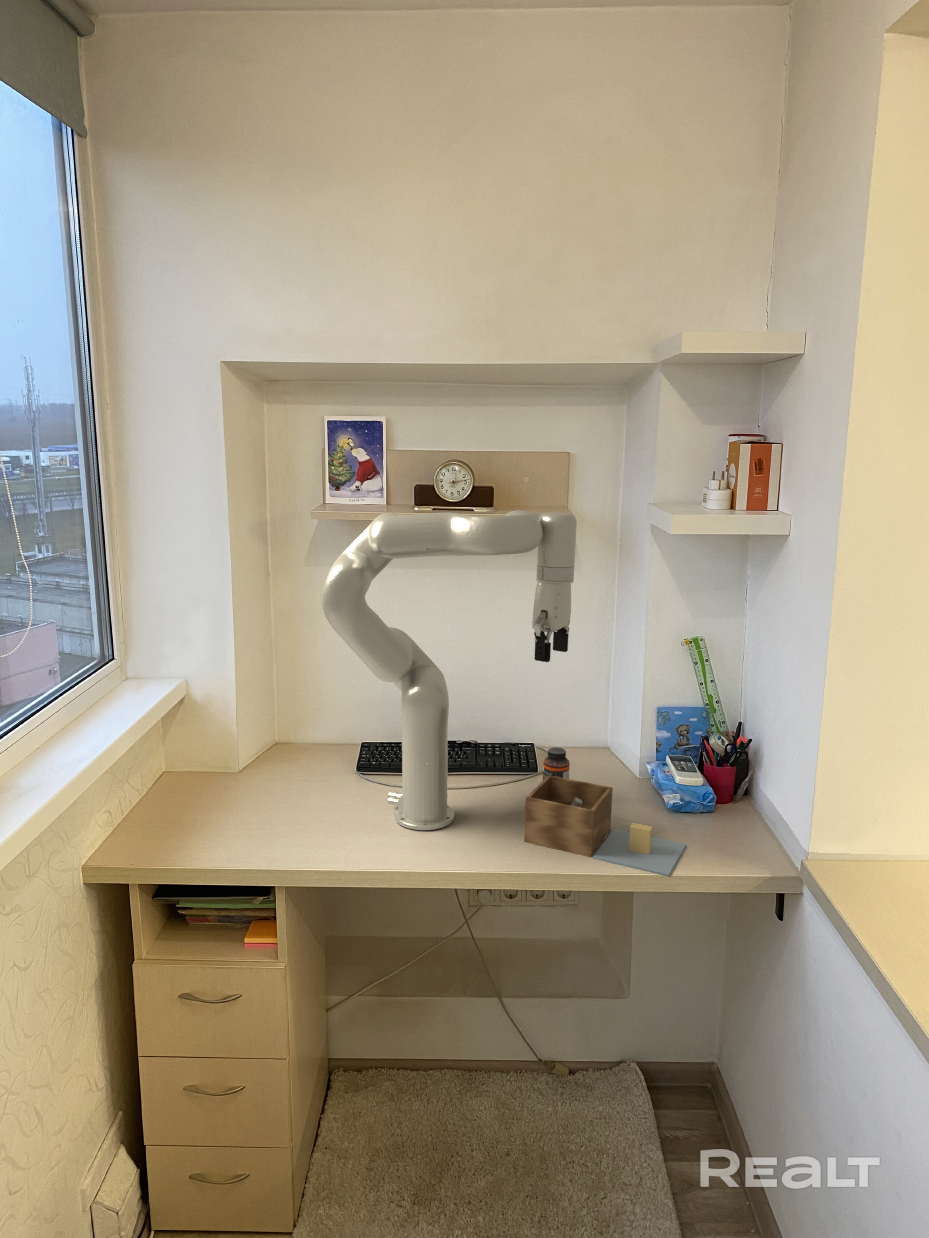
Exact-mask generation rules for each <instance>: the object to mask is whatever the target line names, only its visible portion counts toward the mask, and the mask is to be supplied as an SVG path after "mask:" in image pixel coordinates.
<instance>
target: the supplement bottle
mask: <svg viewBox="0 0 929 1238" xmlns="http://www.w3.org/2000/svg"><path fill="white" fill-rule="evenodd" d="M566 751H567V750H566V749H564V748H563V747H559V746H558V747H557V746H556V747H555V746H553V747H550V748H548V749H547V756H546V757H544V759H543V764H542V781H543V780H544V779H545V778H546V777H547V776H548V775H550V776H555V777H560V778H565V779H570V767H571V765H570V760H569V759H568V758H567V757H566V756H567V752H566ZM542 781H541V782H542Z"/></svg>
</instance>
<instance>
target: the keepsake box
mask: <svg viewBox="0 0 929 1238" xmlns="http://www.w3.org/2000/svg"><path fill="white" fill-rule="evenodd" d="M542 780H543V779H542ZM575 798H578V799H581V800H582V805H581V807H576V806H571V805H572V803H573V801H574V799H575ZM524 804H525V806H524V839H523V841H524V842H523V843H528V844H533V845H536V846H542V847H545V848H550V849H555V850H558V851H563V852H568V853H572V854H576V855H581V856H586V857H588V858H593V856H594V854H595V853H596V852H597V850H598V849H599V848H600V847H601V845H602V844H603V842H604V841H605V840H606V839H605V838H607V837H608V834H609V833H611V825H612V823H611V822H612V810H613V809H612V804H613V787H612V786H607V785H602V784H596V783H591V782H586V781H580V780H575V779H571V778H569V779H565V778H560V777H555V776H550V775H548V776H547V777H546V778H545V779H544V780H543V781H541V782H540V783H539V784H538V785H537V786H535V788H533V790H532V791H531V792H530V793H528V795H526V796H525V803H524Z"/></svg>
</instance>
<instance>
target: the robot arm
mask: <svg viewBox="0 0 929 1238" xmlns="http://www.w3.org/2000/svg"><path fill="white" fill-rule="evenodd" d="M577 524H578V523H577V518H576V516H575V515H574V514H572V513H568V512H560V511H552V512H551V511H549V512H544V513H543V512H535V511H529V510H528V511H527V510H522V509H516V510H512V511H508V512H507V513H506V514H505V515H498V516H497V515H496V516H493V515H492V516H473V515H466V514H463V513H462V514H461V513H458V512H449V511H448V512H447V511H445V512H432V513H417V514H415V513H414V514H397V513H395V512H383V513H381V514H379V515H378V516H376V517H375V518H374V519H373V520H372V521H371V523H369V525H368V526H367V527H366V528H365V529H364V530H363V532H361V533H360V535H358V537H357V538H356V539H355V540H353V541H352V543H351V544H349V546H348V547H346V549H345V550H344V551H343V552H342V553H341V554H340V555H339V556H338V557H337V558H336V560H335V561H334V562H333V564H332V565H331V567H330V569H329V571H328V574H327V575H326V576H327V577H326V579H325V581H324V585H323V588H322V594H321V606H322V610H323V614H324V616H325V618H326V620H327V622H328V624H329V625H330V626H331V628H332V629H333V630H334V631H335V632H336V634H337V635H338V636H339V637H340V638H341V639H342V640H343V641H344V643H346V645H348V647H349V648H350V649H351V651H352V652H353V653H354V654H355V655H356V656H357V658H359V659H360V660H361V662H363V664H365V666H366V667H367V668H368V669H369V670H370V671H371V673H372V674H373V675H374V676H375V677H377V678H378V679H379V680H381V681H383V682H386V683H393V684H394V685H395V686H396V687H397V688H398V689H399V691H401V702H400V703H401V751H402V753H401V756H402V757H401V758H402V759H401V760H402V762H401V763H402V765H401V767H402V768H401V770H402V772H401V773H402V776H401V777H402V779H401V781H402V783H401V785H402V789H401V791H402V792H399V791H395V790H390V791H389V792H388V795H387V797H388V798H387V803H388V804H389V805H395V806H396V807H397V809H396V810H395V813H394V817H395V821H396V823H397V824H399V825H400V826H402V827H404V828H407V829H410V830H416V831H431V830H433V831H434V830H438V829H442V828H445V827H447V826H449V825H450V824H451V823H453V821H454V819H455V810H454V809H453V808H452V807H451V805H448V765H449V764H448V763H449V761H448V753H449V752H448V748H449V747H448V746H449V745H448V741H449V740H448V738H449V737H448V736H449V735H448V734H449V733H448V732H449V731H448V730H449V729H448V728H449V715H450V714H449V712H450V702H449V701H450V700H449V699H450V697H449V692H448V687H447V681H446V678H445V675H444V673H442V671H441V669H440V668H439V667H438V665H437V664H435V662H433V660H432V659H431V657H429V656H428V654H426V653H425V651H424V650H423V649H422V648H421V647H420V646H419V645H418V644H417V643H416V642H415V640H414V639H413V638H411V636H410V635H409V634H407V633H406V632H405V631H403V630H402V629H399V628H397V627H389V626H388V625H387V624H386V623H385V622H384V621H383V620H382V619H381V617H380V616H379V615H378V614H377V612H375V610H373V609H372V608H371V607H370V605H368V603H367V601H366V595H367V592H368V591H369V589H370V586H371V584H372V581H373V580H374V579H375V578H376V577H377V576H378V575H379V574H380V573H381V572H382V571H383V570H384V569H385V568H386V567H387V566H388V565H389V564H390V563H391V562H392V560H394V559H403V558H404V559H407V558H408V559H409V558H425V557H439V556H458V557H459V556H461V557H464V556H501V555H519V554H527V553H530V552H532V551H533V550H535V549H536V548H537V557H536V559H537V560H536V561H537V562H536V582H537V584H536V587H535V593H534V599H533V610H532V621H531V623H532V624H531V626H532V629H533V630H534V633H533V634H534V660H535V661H537V662H543V663H550V661H551V649H552V651H554V652H555V651H556V652H560V653H561V652H563V653H566V652H568V651H569V650H568V649H569V633H570V627H569V625H570V623H571V615H572V584H573V583H574V582H575V581H574V579H575V563H576V562H575V561H576V560H575V559H576V545H577V543H576V541H577ZM552 633H553V635H552ZM551 637H552V643H551V642H550V640H551ZM551 647H552V648H551Z"/></svg>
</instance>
